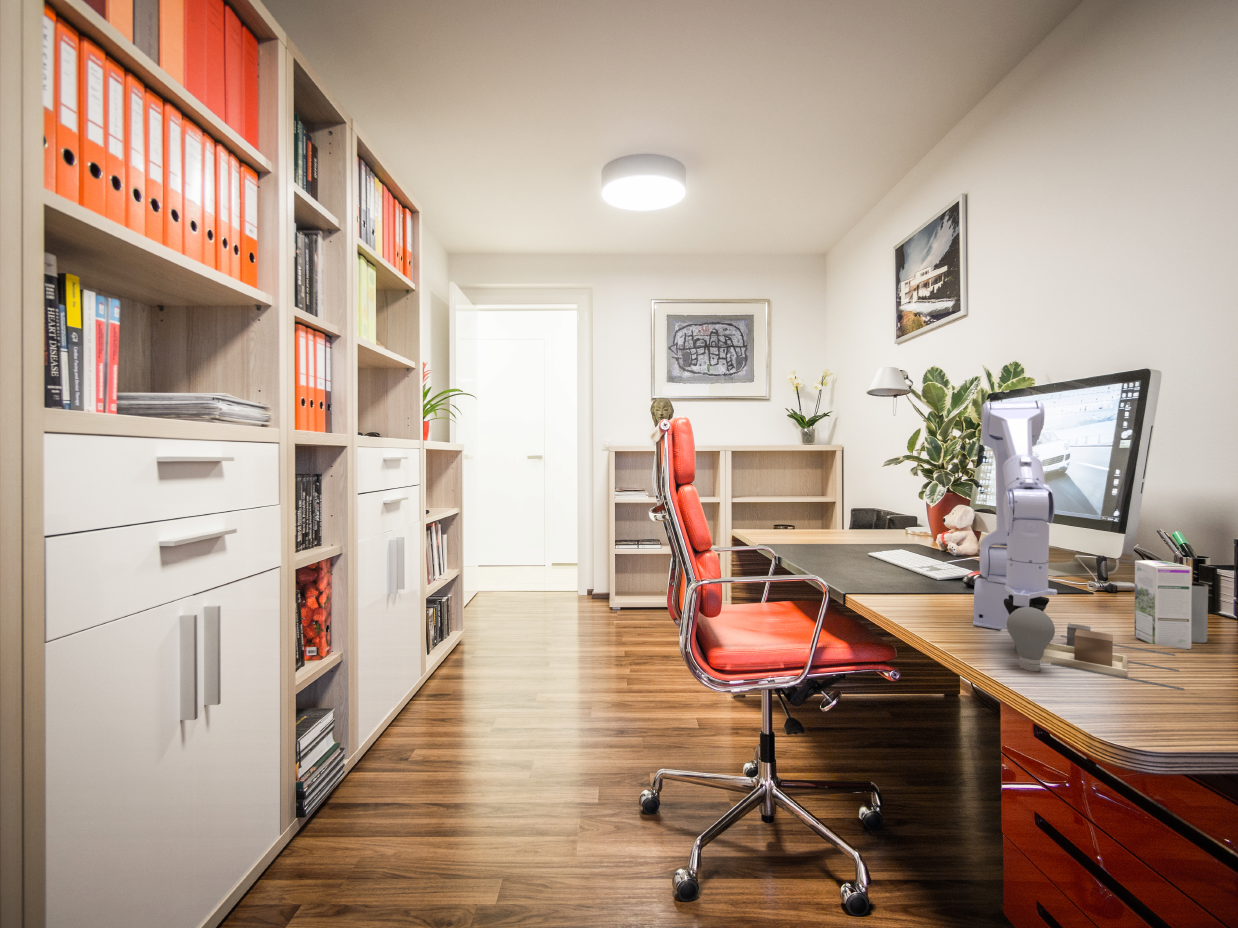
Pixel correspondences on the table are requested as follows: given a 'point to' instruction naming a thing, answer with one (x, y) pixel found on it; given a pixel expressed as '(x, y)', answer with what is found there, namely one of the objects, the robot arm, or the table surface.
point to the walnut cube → (1093, 647)
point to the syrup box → (1163, 603)
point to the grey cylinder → (1199, 612)
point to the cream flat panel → (1071, 633)
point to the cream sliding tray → (1066, 657)
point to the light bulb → (1030, 635)
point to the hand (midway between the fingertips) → (1025, 641)
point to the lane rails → (1129, 662)
